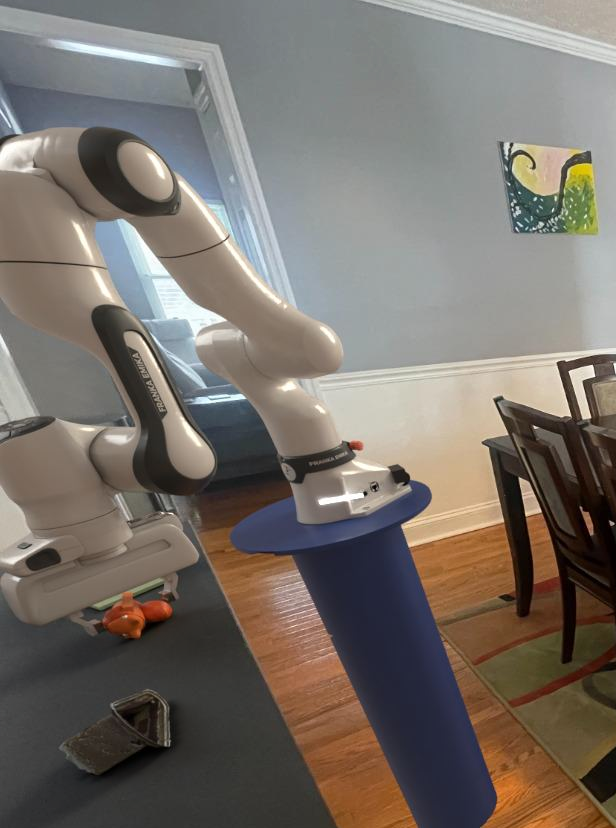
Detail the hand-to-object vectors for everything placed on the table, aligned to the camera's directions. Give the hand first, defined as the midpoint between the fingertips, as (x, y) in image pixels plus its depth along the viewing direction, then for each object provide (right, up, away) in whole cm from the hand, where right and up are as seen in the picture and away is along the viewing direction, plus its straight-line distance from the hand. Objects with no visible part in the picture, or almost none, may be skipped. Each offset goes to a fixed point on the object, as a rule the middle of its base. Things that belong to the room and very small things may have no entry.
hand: (136, 616), depth 90 cm
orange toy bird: (0, -2, +1) cm, 2 cm away
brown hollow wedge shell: (+20, -13, -21) cm, 32 cm away
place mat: (-16, +3, +12) cm, 21 cm away
